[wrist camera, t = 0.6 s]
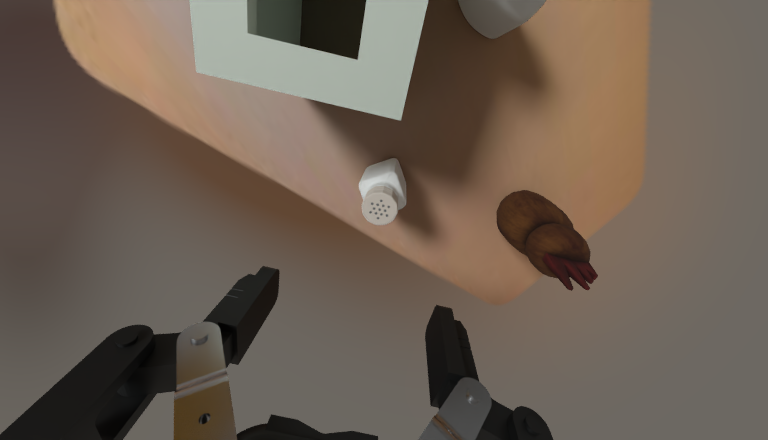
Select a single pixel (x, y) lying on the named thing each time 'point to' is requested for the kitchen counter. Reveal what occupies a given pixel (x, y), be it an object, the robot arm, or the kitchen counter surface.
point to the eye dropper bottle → (498, 14)
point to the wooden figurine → (545, 237)
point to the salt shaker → (383, 191)
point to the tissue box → (310, 52)
